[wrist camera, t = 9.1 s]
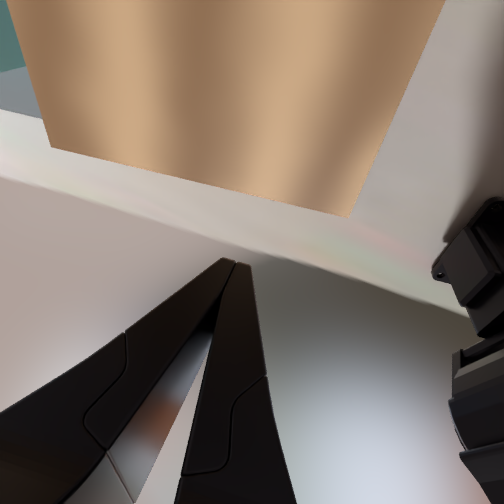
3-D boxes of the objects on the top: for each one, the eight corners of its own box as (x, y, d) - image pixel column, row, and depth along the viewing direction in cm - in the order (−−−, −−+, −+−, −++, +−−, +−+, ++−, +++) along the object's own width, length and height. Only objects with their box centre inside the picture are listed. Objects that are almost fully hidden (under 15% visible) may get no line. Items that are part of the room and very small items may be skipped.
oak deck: (514, -243, 9) (607, -363, 6) (345, 181, 18) (348, 218, 15) (8, -321, 10) (-136, -463, 7) (95, 123, 19) (51, 147, 16)
